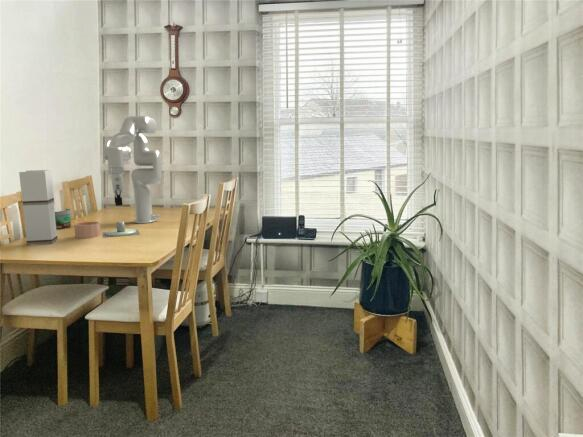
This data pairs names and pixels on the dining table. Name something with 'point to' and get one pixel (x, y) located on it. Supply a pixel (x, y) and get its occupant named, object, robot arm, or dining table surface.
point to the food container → (63, 219)
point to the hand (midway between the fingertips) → (118, 204)
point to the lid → (120, 230)
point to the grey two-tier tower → (38, 206)
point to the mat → (118, 236)
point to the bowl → (87, 229)
